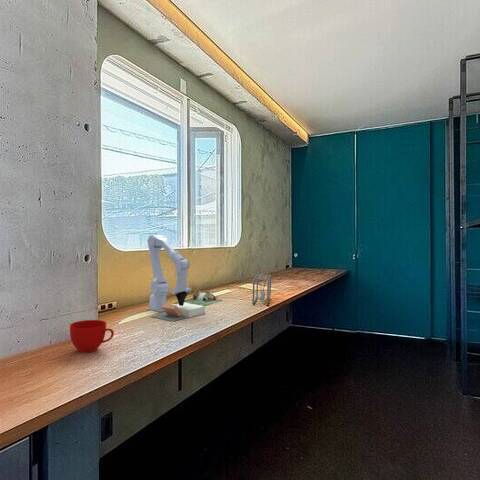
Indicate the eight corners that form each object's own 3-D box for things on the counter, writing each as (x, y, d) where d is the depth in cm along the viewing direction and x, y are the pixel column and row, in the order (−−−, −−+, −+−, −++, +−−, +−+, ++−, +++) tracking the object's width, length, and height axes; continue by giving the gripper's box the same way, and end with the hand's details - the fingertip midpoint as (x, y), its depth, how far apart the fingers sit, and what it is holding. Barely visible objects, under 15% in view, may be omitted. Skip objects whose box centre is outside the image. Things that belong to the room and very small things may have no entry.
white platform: (167, 313, 208) (167, 306, 208) (183, 309, 220) (183, 302, 220) (188, 317, 200) (189, 310, 200) (204, 313, 212) (205, 306, 211)
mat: (150, 317, 198) (150, 316, 198) (166, 313, 208) (166, 312, 208) (173, 321, 189) (173, 320, 189) (188, 317, 199) (188, 316, 199)
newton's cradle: (268, 306, 237) (269, 279, 236) (252, 305, 238) (253, 278, 238) (270, 298, 267) (271, 274, 266) (256, 297, 268) (256, 273, 268)
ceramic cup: (103, 357, 133) (104, 330, 133) (61, 353, 136) (62, 326, 136) (121, 347, 146) (121, 322, 146) (82, 343, 149) (83, 318, 149)
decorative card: (201, 286, 265) (225, 289, 256) (201, 297, 265) (225, 300, 256) (174, 292, 236) (200, 296, 227) (173, 304, 236) (200, 308, 227)
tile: (169, 310, 205) (167, 314, 203) (163, 303, 200) (161, 306, 199) (182, 313, 200) (179, 316, 198) (176, 305, 196) (173, 309, 194)
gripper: (178, 283, 197) (177, 308, 198) (195, 280, 210) (194, 304, 210) (168, 281, 201) (168, 306, 201) (186, 279, 213) (185, 302, 214)
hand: (181, 305), depth 206 cm, fingers closed
